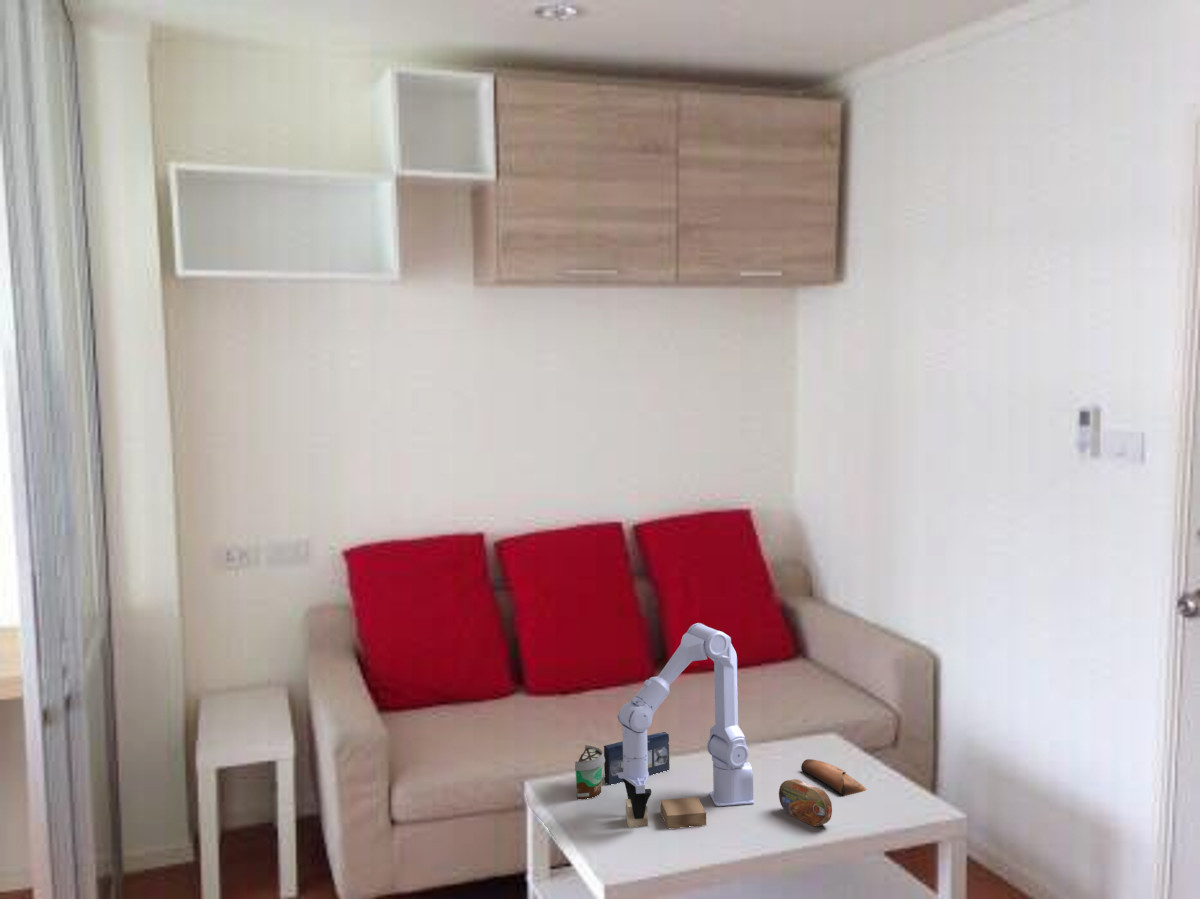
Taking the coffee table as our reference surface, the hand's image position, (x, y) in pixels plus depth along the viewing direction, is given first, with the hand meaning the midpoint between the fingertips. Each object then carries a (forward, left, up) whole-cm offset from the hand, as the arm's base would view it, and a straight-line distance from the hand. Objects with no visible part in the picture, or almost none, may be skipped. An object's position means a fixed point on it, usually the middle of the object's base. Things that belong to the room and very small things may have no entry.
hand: (636, 811), depth 258 cm
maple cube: (0, 0, -3) cm, 3 cm away
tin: (-39, +5, -3) cm, 40 cm away
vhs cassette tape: (-5, -27, -3) cm, 28 cm away
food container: (+8, -19, -3) cm, 21 cm away
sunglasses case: (-53, -15, -3) cm, 55 cm away
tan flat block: (-11, 0, -3) cm, 12 cm away
